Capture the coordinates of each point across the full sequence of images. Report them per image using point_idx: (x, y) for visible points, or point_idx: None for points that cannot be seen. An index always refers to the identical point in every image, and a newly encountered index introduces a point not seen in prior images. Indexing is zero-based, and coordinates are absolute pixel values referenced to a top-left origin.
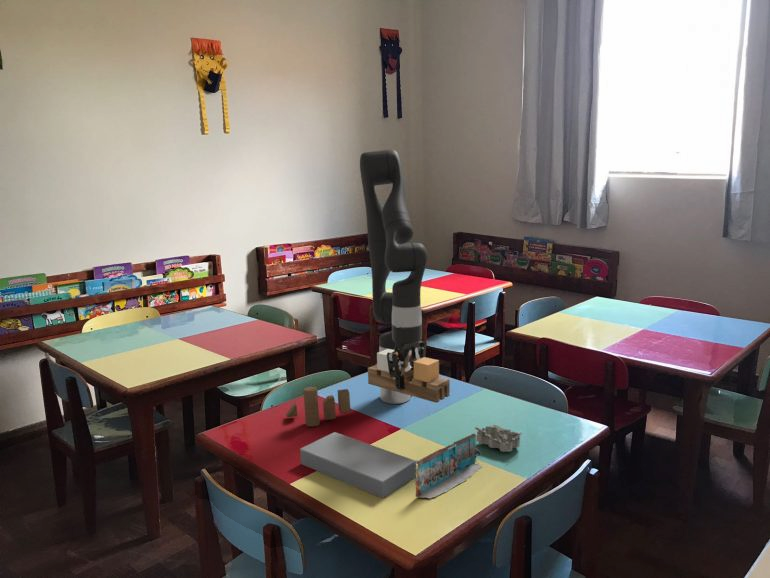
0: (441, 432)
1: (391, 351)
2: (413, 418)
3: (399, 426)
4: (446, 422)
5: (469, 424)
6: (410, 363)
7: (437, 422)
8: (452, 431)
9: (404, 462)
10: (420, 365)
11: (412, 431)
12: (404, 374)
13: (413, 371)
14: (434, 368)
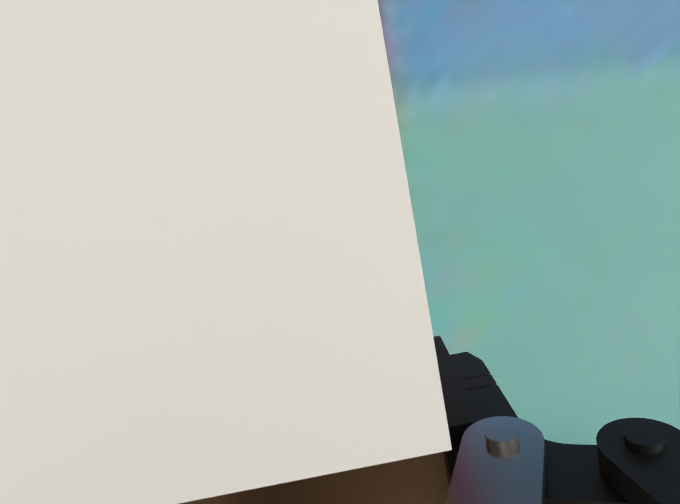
0: (500, 277)
1: (220, 213)
2: (535, 31)
3: (394, 64)
4: (616, 205)
5: (671, 300)
6: (454, 489)
7: (584, 172)
8: (547, 304)
9: None
10: None
11: None
12: (230, 501)
13: (411, 490)
14: None
